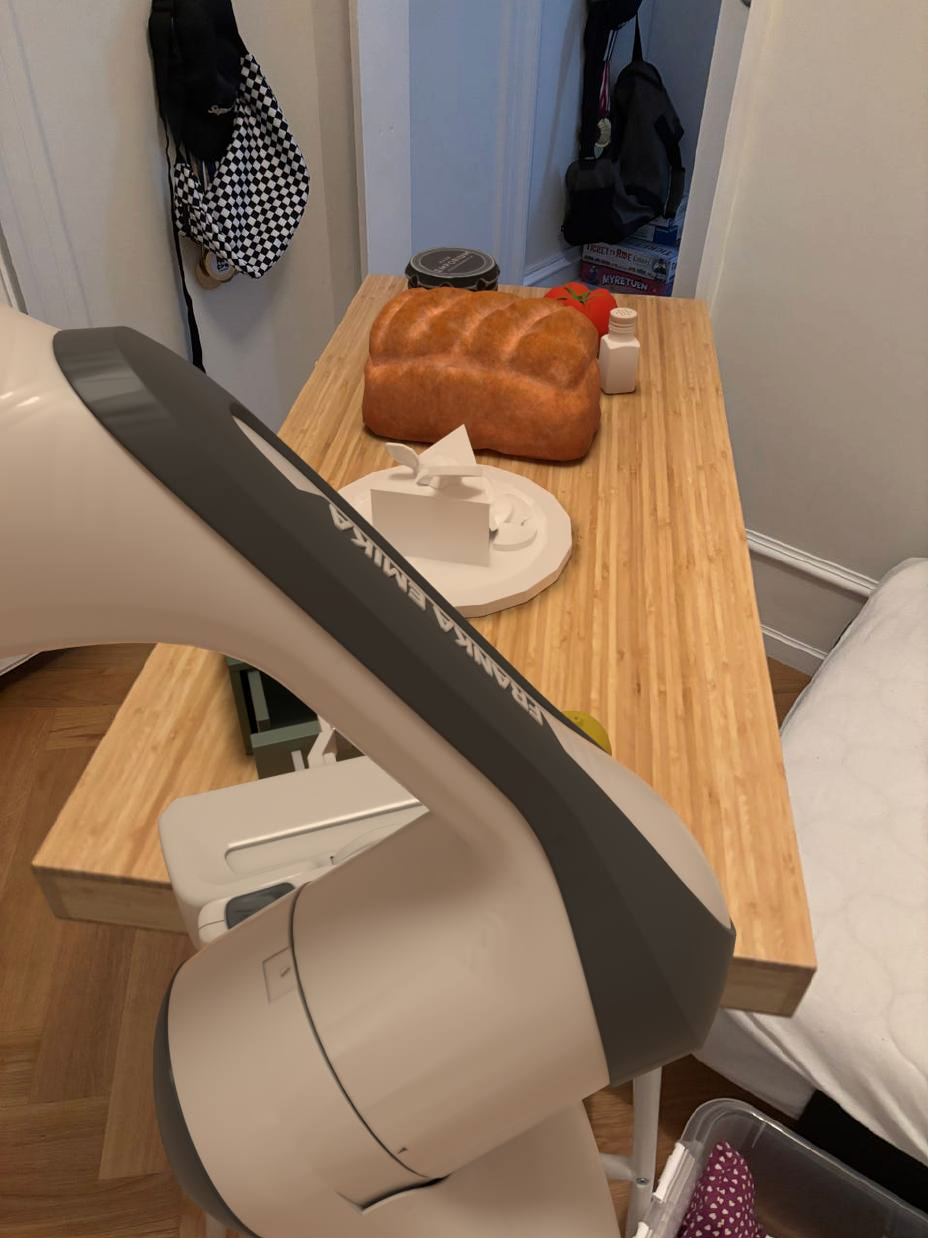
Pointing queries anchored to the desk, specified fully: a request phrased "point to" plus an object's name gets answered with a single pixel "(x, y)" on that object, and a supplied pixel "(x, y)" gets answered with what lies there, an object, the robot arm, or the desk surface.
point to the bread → (484, 372)
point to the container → (453, 269)
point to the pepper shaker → (619, 352)
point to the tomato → (587, 304)
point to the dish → (466, 524)
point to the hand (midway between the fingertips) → (343, 715)
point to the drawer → (283, 728)
